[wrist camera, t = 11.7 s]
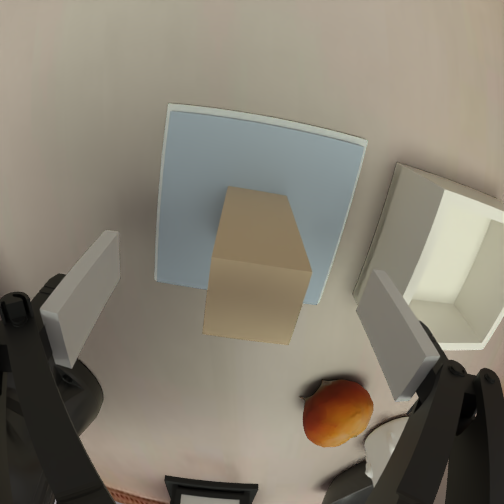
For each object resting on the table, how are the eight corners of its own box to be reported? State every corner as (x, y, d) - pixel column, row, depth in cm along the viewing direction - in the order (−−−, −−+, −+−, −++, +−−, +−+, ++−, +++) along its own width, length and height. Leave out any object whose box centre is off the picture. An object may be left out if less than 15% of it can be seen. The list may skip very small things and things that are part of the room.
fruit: (310, 370, 30) (356, 432, 24) (353, 357, 35) (395, 406, 29) (272, 412, 33) (309, 467, 28) (317, 396, 38) (351, 442, 33)
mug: (344, 429, 38) (356, 484, 30) (412, 397, 35) (433, 451, 27) (369, 452, 43) (379, 497, 35) (425, 426, 40) (441, 470, 32)
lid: (159, 275, 25) (117, 376, 16) (173, 110, 20) (105, 126, 10) (314, 297, 27) (342, 403, 17) (359, 144, 21) (443, 190, 11)
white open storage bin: (352, 294, 27) (376, 348, 21) (396, 162, 22) (444, 189, 16) (450, 305, 28) (482, 349, 22) (496, 198, 23) (544, 229, 17)
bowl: (301, 487, 49) (303, 513, 44) (387, 438, 41) (396, 469, 35) (343, 490, 52) (347, 514, 47) (425, 444, 44) (434, 470, 38)
